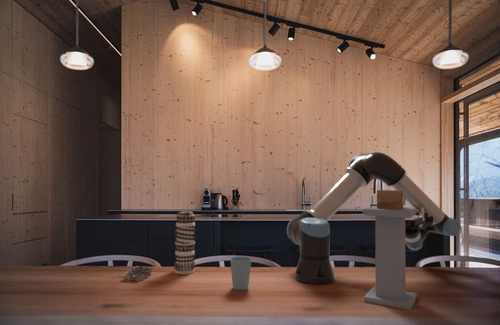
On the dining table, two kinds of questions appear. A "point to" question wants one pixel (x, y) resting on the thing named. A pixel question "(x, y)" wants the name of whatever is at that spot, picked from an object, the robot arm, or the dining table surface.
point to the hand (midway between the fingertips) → (403, 209)
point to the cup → (240, 272)
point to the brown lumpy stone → (138, 273)
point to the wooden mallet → (390, 199)
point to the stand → (390, 258)
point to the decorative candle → (185, 243)
